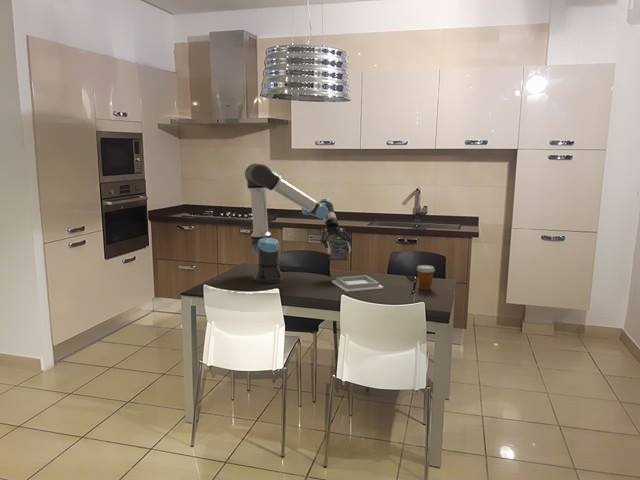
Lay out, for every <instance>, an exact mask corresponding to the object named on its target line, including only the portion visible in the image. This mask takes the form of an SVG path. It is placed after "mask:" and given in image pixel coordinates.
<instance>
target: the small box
mask: <svg viewBox="0 0 640 480" xmlns="http://www.w3.org/2000/svg"><path fill="white" fill-rule="evenodd" d="M329 246H330V249H331V252H330V254H328V260H330V261H331V260H332V261H335V260H336V261H337V260H338V261H348V251H347V250H348V241H344V240H334V239H333V240H329Z"/></svg>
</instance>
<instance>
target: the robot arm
mask: <svg viewBox="0 0 640 480" xmlns="http://www.w3.org/2000/svg"><path fill="white" fill-rule="evenodd" d="M244 177H245V180H246V183H247V185H246V186H247V190H249V191H250V199H251V200H250V203H251V215H252V216H251V217H252V231H253V232H252V233H251V235H250V239H251V240H250V242H249V248H250V251H251V253H252V254H253V255H254V256H255V257H257V269H256V273H255V276H254V282H256V283H259V284H265V285H266V284H277V283H280V282H282V281H283V275H282V273H281V270H280V265H279V264H280V243H279V240H278V239H276V238H273V237H272V233H271V232H270V231H269V223H268V222H269V221H268V209H267V208H268V207H267V204H268V203H267V191H266V190H267V189H268V190H269V191H274V192H276V193H278V194H279V195H280V196H282V197H284V198H286V199H287V200H289V201H290V202H292V203H294V204H295V205H297V206H298V207H300V208H301V213H302V215H305V216H313V217H316V218H317V219H323V222H324V225H325V227H322V229H321V238H320V244H323V245H324V247H325V248H324V249H326V250H327V254H328V255H329V254H330V252H331V249H330V246H329V243H330V241H329V238H330V236H337V237H339V238H340V239H341V240H342V241H348V250H347V254H350V253H351V246H352V245H351V242H352V240H353V238H352V237H351V236H350V235H349V233H348V232H347V231H346V229H345V227H344V226H343V227H341V228H340V226H339V223H338V220H337V216H336V213H335V209H334V204H333V202H332V200H331V199H330V198H325V197H324V198H323V199H321V200H320V201H319V202H318V201H316V200H315V199H313V198H312V197H310V196H309V195H308V194H306V193H304V192H303V191H301V190H300V189H298V188H296V187H295V186H293V185H292V184H290V183H289V182H287V181H286V180H284V179H282V178H281V175H280V174H278V173H277V172H275V171H274V170H272V169H271V167H269V166H267V165H265V164H262V163H251V164H249V165H248V166H247V167H246V169H245V170H244ZM326 232H327V233H328V234H327V236H326V238H325V235H326Z"/></svg>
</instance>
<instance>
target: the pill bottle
mask: <svg viewBox="0 0 640 480" xmlns="http://www.w3.org/2000/svg"><path fill="white" fill-rule="evenodd" d="M416 271H417V279H418V281H417V283H418V288H420V289H419V290H422V289H424V290H423V291H427V290H428V289H429V290H432V289H431V288H432V285H433V284H432V283H433V278H434V273H435V271H436V269H435V267H434V266H433V265H429V264H420V265H418V266H417V267H416ZM429 290H428V291H429Z"/></svg>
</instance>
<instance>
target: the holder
mask: <svg viewBox="0 0 640 480" xmlns="http://www.w3.org/2000/svg"><path fill="white" fill-rule="evenodd" d="M335 278H336V279H335V280H332V279H331V283H332V284H334V285H335V286H336V287H338V288H340V289H341V290H342V291H344V292H346V293H349V292H358V291H359V292H360V291H371V290H381V289H383V290H384V285H381V284H380V282H379V281H377V280H375V279H373V278H372V277H370V276H368V275H367V274H365V275H353V276H341V277H335Z"/></svg>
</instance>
